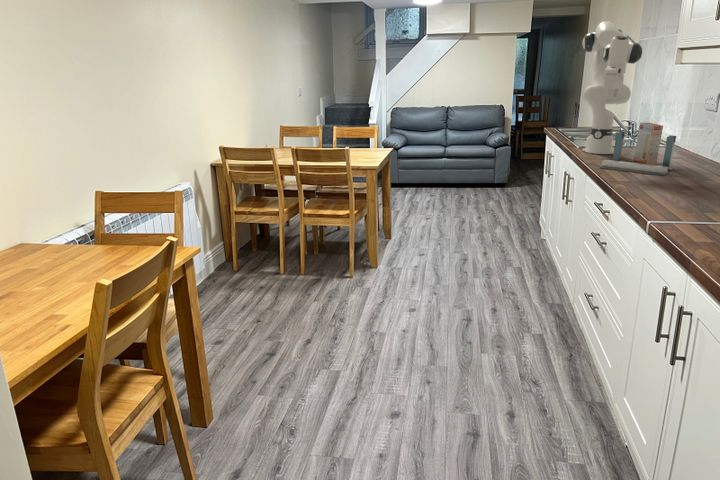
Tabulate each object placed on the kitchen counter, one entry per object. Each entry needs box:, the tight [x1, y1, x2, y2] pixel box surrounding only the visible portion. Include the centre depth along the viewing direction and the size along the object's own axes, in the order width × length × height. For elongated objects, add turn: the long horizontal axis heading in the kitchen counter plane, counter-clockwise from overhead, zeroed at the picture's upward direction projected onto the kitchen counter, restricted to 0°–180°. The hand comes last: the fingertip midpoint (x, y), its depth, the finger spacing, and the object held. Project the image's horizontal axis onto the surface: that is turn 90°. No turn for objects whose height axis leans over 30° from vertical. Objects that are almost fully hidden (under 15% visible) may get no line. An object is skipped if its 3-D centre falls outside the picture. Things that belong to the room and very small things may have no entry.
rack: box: [611, 130, 677, 173], centre depth 280 cm, size 8×30×17 cm, turn 50°
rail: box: [601, 159, 669, 175], centre depth 273 cm, size 3×30×3 cm, turn 50°
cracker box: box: [633, 122, 664, 165], centre depth 290 cm, size 14×6×21 cm, turn 179°
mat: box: [599, 165, 670, 177], centre depth 274 cm, size 10×30×1 cm, turn 50°
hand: (612, 97), depth 284 cm, fingers open, 8 cm apart
